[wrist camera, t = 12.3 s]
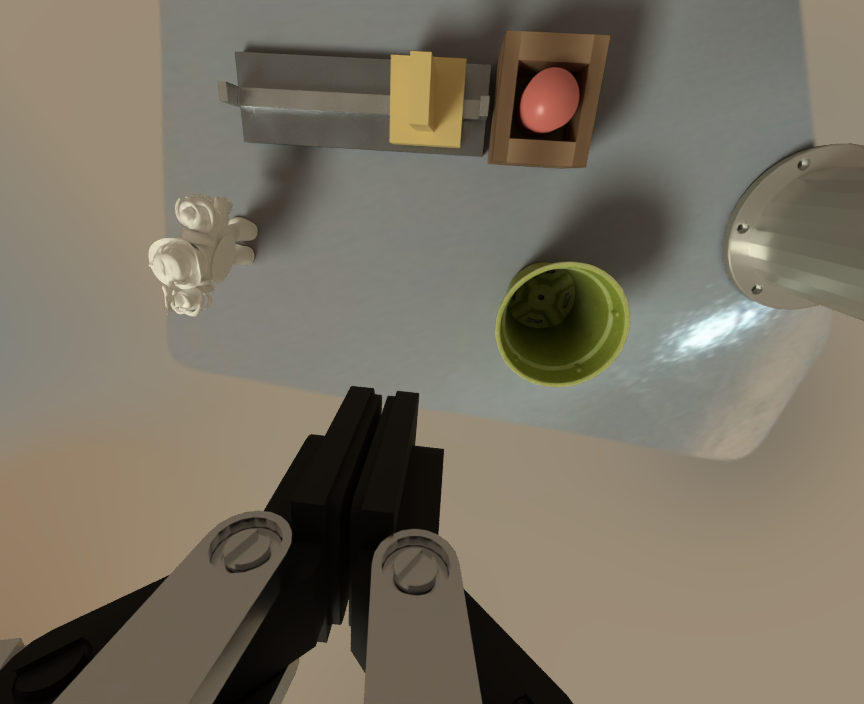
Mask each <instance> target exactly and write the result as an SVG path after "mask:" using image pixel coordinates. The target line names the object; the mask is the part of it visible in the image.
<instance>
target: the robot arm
mask: <svg viewBox="0 0 864 704" xmlns="http://www.w3.org/2000/svg"><path fill="white" fill-rule="evenodd" d="M738 226H739V228H738ZM737 228H738V229H737ZM723 262H724V266H725V270H726V273H727V275H728V277H729V279H730V281H731V282H732V284H733V285H734V286H735V287H736V288H737V289H738V291H739V292H740V293H742V294H743V295H745V296H746V297H748V298H749V299H751V300H753V301H755V302H757V303H759V304H762V305H765V306H768V307H772V308H776V309H788V310H793V309H803V308H809V307H813V306H817V305H822V306H824V307H827V308H830V309H833V310H835V311H838V312H841V313H844V314H846V315H849V316H852V317H854V318H857V319H860V320H862V321H864V146H862V145H856V144H831V145H824V146H817V147H813V148H810V149H807V150H804V151H800V152H797V153H796V154H794V155H792V156H790V157H788V158H786V159H784V160H782V161H780V162H778V163H777V164H776V165H774V166H773V167H771V168H770V169H768V170H767V171H766V172H764V173H763V174H762V175H761V176H760V177H759V178H758V179H757V180H756V181H755V182H754V183H753V184H752V185H751V186H750V187H749V188H748V190H747V191H746V192H745V193H744V195H743V196H742V197H741V198H740V200H739V201H738V203H737V205H736V207H735V208H734V210H733V212H732V214H731V216H730V218H729V221H728V224H727V226H726V229H725V234H724V239H723ZM418 404H419V393H413V392H403V391H397V393H396V396H388V397H387V399H386V402H385V405H384V408H383V412H382V395H377V394H375V391H374V388H366V387H357V386H351V387H350V389H349V391H348V393H347V395H346V397H345V399H344V401H343V403H342V404H341V406H340V408H339V410H338V412H337V414H336V416H335V418H334V420H333V422H332V423H331V425H330V427H329V429H328V431H327V433H326V435H325V436H322V435H314V434H311V435H309V436H308V438H307V439H306V440H305V442H304V444H303V445H302V447H301V449H300V450H299V452H298V454H297V455H296V457H295V459H294V460H293V462H292V464H291V466H290V467H289V469H288V471H287V472H286V474H285V476H284V477H283V479H282V481H281V482H280V484H279V486H278V488H277V489H276V491H275V493H274V494H273V496H272V498H271V499H270V501H269V503H268V505H267V506H266V508H265V510H264V511H253V512H245V513H242V514H238V515H235V516H232V517H230V518H228V519H227V520H225V521H223V522H221V523H220V524H218V525H217V526H216V527H215V528H214V529H212V530H211V531H210V532H209V533H208V534H207V535H206V536H205V537H204V538H203V539H202V540H201V542H200V543H199V544H198V545H197V546H196V547H195V548H194V549H193V550H192V551H191V552H190V554H189V555H188V556H187V557H186V558H185V559H184V560H183V561H182V562H181V563H180V564H179V566H178V567H177V568H176V569H175V570H174V571H173V572H172V573H171V574H170V575H168V576H166V577H164V578H162V579H160V580H158V581H156V582H153V583H151V584H149V585H147V586H145V587H143V588H141V589H139V590H137V591H134V592H132V593H130V594H128V595H126V596H124V597H121V598H119V599H117V600H115V601H113V602H111V603H109V604H107V605H105V606H103V607H100V608H98V609H96V610H94V611H92V612H90V613H88V614H85V615H83V616H81V617H79V618H77V619H75V620H73V621H71V622H68V623H66V624H64V625H62V626H60V627H58V628H55V629H54V630H52V631H50V632H48V633H46V634H45V635H43V636H41V637H39V638H38V639H36V640H34V641H32V642H31V643H30V644H28V645H24V644H23V642H22V639H21V638H17V639H9V640H0V704H281V703H282V701H283V699H284V697H285V694H286V692H287V690H288V688H289V686H290V684H291V682H292V680H293V678H294V676H295V673H296V670H297V667H298V664H299V657H301V656H302V655H304V654H305V653H306V652H308V651H309V650H311V649H312V648H314V647H315V646H316V644H317V642H325V643H327V640H328V637H329V633H330V630H331V626H332V624H338V625H341V624H342V621H343V618H344V615H345V611H346V607H347V604H348V600H349V626H351V652H352V653H353V655H354V656H355V658H356V659H357V661H358V663H359V664H360V666H361V667H362V669H363V670H364V672H365V674H366V675H365V676H366V677H365V693H364V704H573V703H572V701H571V700H570V699H569V697H568V696H567V695H566V694H565V693H564V692H563V691H562V690H561V689H560V688H559V687H558V686H557V685H556V683H554V682H553V680H552V679H551V678H550V677H549V676H548V675H547V674H546V673H545V672H544V671H543V670H542V669H541V668H540V667H539V666H538V665H537V664H536V663H535V662H534V661H533V660H532V659H531V658H530V657H529V656H528V655H527V654H526V653H525V651H523V649H522V648H521V647H520V646H519V645H518V644H517V643H516V642H515V641H514V640H513V639H512V638H511V637H510V636H509V635H508V634H507V633H506V632H505V631H504V630H503V629H502V628H501V627H500V626H499V625H498V624H497V623H496V622H495V621H494V619H493V618H492V617H490V616H489V614H488V613H486V611H485V610H484V609H483V608H482V607H481V606H480V605H479V604H478V603H477V602H476V601H475V600H474V599H473V598H472V597H471V596H470V595H469V594H468V593H467V592H466V591H465V590H464V589H463V583H462V577H461V571H460V565H459V561H458V558H457V555H456V552H455V551H454V549H453V548H452V547H451V545H450V544H449V543H448V542H447V541H446V540H445V539H443V538H442V537H440V536H439V535H438V531H439V516H440V502H441V487H442V472H443V457H444V449H439V448H430V447H421V446H415V440H416V428H417V416H418ZM381 412H382V414H381Z"/></svg>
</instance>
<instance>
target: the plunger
mask: <svg viewBox="0 0 864 704" xmlns="http://www.w3.org/2000/svg"><path fill="white" fill-rule="evenodd" d="M578 102H579V88H578V84H577V82H576V80H575V78H574V77H573V75H572V74H571V73H570V72H568V71H567V70H565V69H562V68H557V67H552V68H548V69H545V70H543V71H541V72H539V73H538V74H537V75H536V76H535V77H534V78H533V79H532V80H531V82H530V83H529V84H528V86H527V87H526V89H525V90H524V91H523V93H522V94H521V96H520V97H519V99H518V101H517V104H516V107H515V119H516V123H517V125H518V127H519V128H520V130H521V131H522V132H524V133H525V134H527V135H529V136H534V137H538V136H542V135H545V134H547V133H549V132H551V131H553V130H555V129H557V128H559V127H561V126H563V125H564V124H566V123H567V122H568V121H569V120H570V119H571V118H572V116H573V115H574V113H575V111H576V109H577V106H578Z"/></svg>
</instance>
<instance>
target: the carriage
mask: <svg viewBox="0 0 864 704" xmlns="http://www.w3.org/2000/svg"><path fill="white" fill-rule="evenodd" d="M466 62H467V59H466V58H447V57H433V56H432V52H418V51H410V56H407V55H391V79H390V143H392V144H398V145H414V146H431V147H447V148H460V147H461V131H462V118H463V105H464V91H465V81H466Z"/></svg>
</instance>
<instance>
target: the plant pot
mask: <svg viewBox="0 0 864 704" xmlns="http://www.w3.org/2000/svg"><path fill="white" fill-rule="evenodd" d="M548 270H553V271H554V274H552V273H548V272H545V271H548ZM516 290H517V292H516ZM515 292H516V297H515V300H514V299H513V294H514V293H515ZM567 293H569V295H570V299H569V302H568V304H567V306H566V307H565V308H563V307H562V306H563V304H564V301H565V298H566V294H567ZM539 295H543V296H544V299H543V300H539V298H538V296H539ZM528 318H531V319H536V320H542V322H541V323H531V322H529V321H527V319H528ZM629 328H630V309H629V304H628V301H627V298H626V296H625V293H624V291H623V289H622V288H621V286H620V285H619V284H618V282H617V281H616V280H615V279H614V278H613V277H612V276H611V275H609V274H608V273H607V272H605V271H604V270H602V269H600V268H598V267H596V266H593V265H590V264H587V263H583V262H574V261H565V262H557V263H547V262H543V263H535V264H532V265H530V266H528V267H526V268H524V269H523V270H521V271H520V272H519V273H518V274H517V275H516V276H515V277H514V278H513V279H512V281H511V283H510V285H509V287H508V291H507V294H506V296H505V297H504V299H503V301H502V303H501V305H500V308H499V310H498V314H497V318H496V326H495V333H496V341H497V345H498V349H499V351H500V354H501V356H502V358H503V359H504V361H505V362H506V364H507V365H508V366H509V367H510V368H511V369H512V370H513V371H514V372H515V373H516V374H518V375H519V376H520V377H522V378H524V379H525V380H527V381H529V382H532V383H534V384H538V385H543V386H548V387H565V386H572V385H577V384H579V383H582V382H585V381H587V380H589V379H592V378H594V377H595V376H597V375H598V374H600V373H601V372H603V371H604V370H605V369H606V368H608V367H609V366H610V365H611V364H612V363H613V361H614V360H615V359H616V358H617V357H618V355H619V354H620V352H621V350H622V349H623V347H624V344H625V342H626V339H627V336H628V333H629Z"/></svg>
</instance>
